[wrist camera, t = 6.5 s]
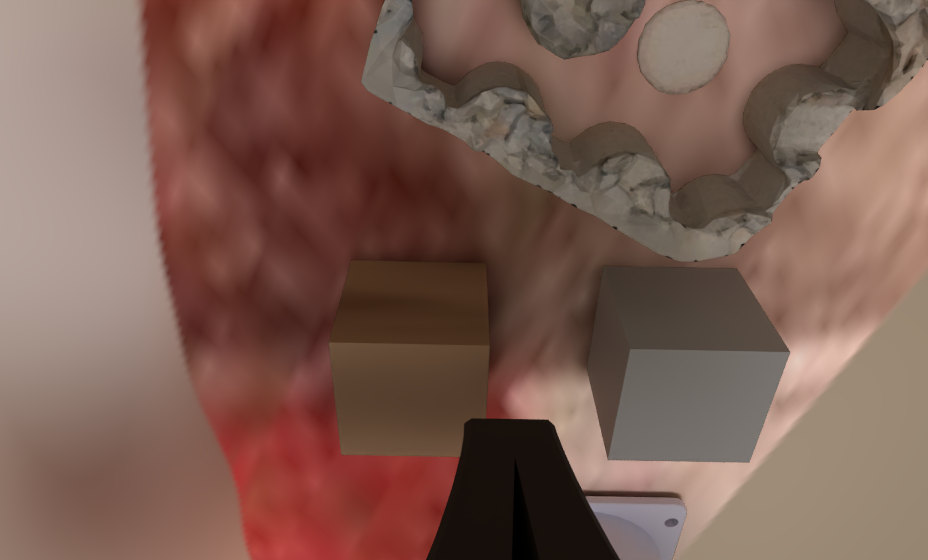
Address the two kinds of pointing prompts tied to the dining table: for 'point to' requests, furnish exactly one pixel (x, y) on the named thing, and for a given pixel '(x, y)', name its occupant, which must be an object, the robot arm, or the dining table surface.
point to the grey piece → (670, 71)
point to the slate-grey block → (682, 364)
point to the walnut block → (410, 356)
